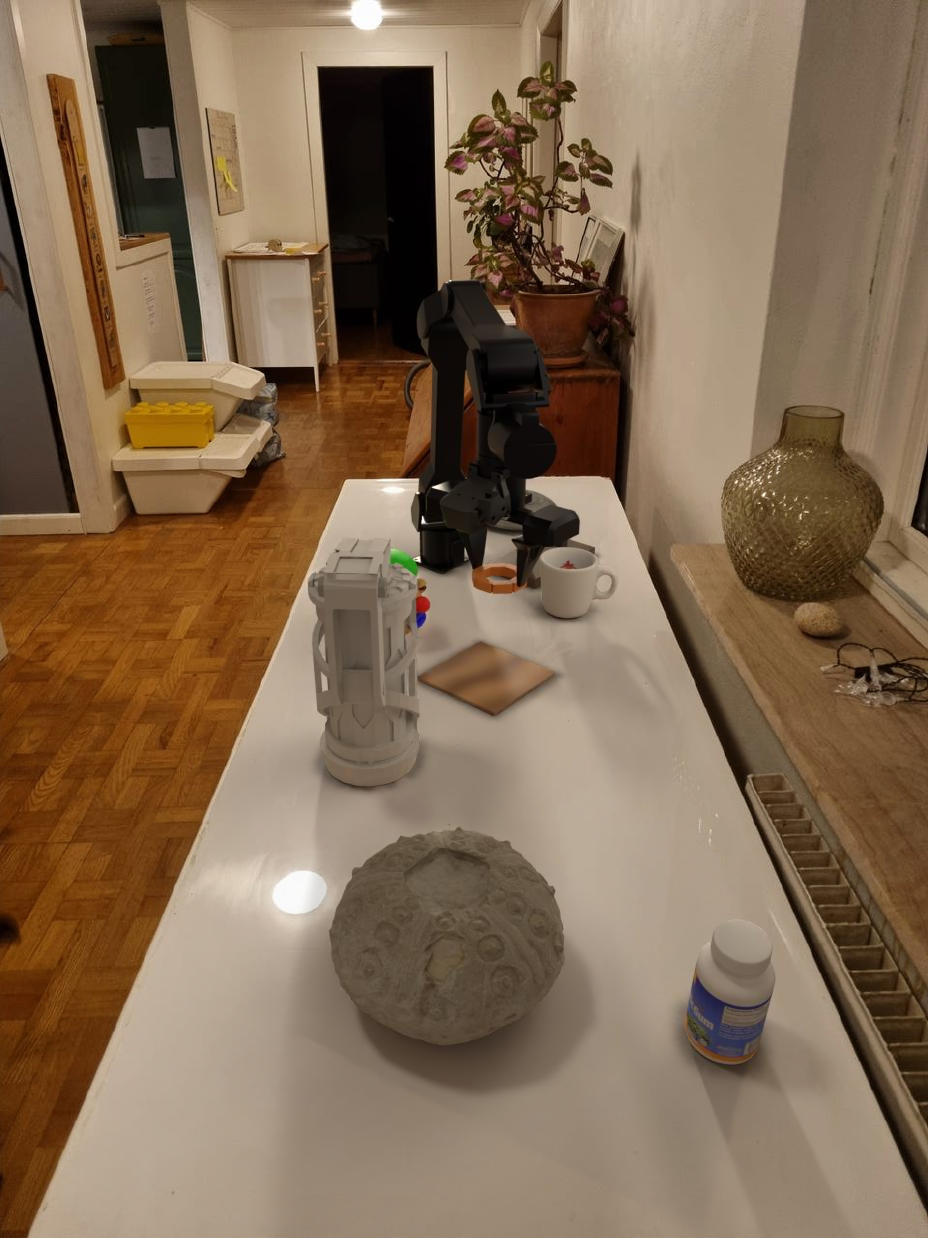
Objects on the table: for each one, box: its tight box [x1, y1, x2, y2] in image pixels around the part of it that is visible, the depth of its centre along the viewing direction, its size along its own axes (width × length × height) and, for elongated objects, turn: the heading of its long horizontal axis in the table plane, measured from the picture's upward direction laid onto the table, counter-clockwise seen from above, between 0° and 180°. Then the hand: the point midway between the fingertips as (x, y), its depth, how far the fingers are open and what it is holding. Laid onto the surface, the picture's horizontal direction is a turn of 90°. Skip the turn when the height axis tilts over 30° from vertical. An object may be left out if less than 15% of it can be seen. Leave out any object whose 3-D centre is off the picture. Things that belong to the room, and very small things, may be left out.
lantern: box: [307, 537, 421, 788], centre depth 90 cm, size 13×10×25 cm
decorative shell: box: [328, 826, 565, 1046], centre depth 70 cm, size 18×18×10 cm
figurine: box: [390, 548, 431, 636], centre depth 118 cm, size 11×10×12 cm
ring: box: [471, 563, 527, 595], centre depth 111 cm, size 6×6×1 cm
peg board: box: [486, 538, 596, 589], centre depth 141 cm, size 9×16×5 cm, turn 140°
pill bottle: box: [684, 918, 776, 1066], centre depth 65 cm, size 5×5×10 cm
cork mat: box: [417, 640, 556, 716], centre depth 112 cm, size 12×12×1 cm
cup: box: [540, 547, 619, 619], centre depth 127 cm, size 11×8×8 cm
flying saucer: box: [489, 489, 558, 531], centre depth 157 cm, size 15×15×6 cm
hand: (498, 578), depth 111 cm, fingers closed on ring, 6 cm apart
